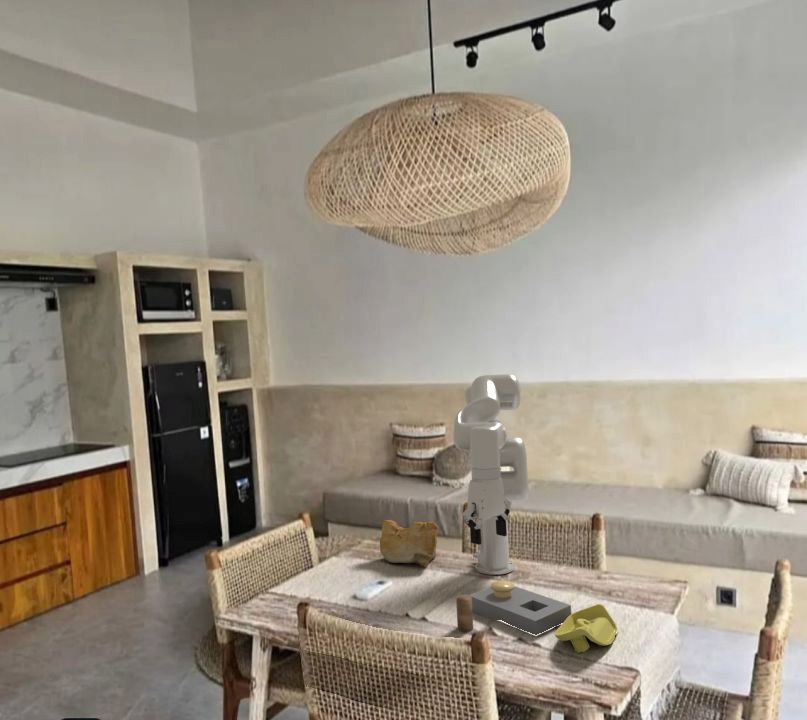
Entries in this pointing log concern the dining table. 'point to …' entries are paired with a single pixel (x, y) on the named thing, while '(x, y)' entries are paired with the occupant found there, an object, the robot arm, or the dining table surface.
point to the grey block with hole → (519, 607)
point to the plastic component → (588, 628)
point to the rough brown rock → (409, 542)
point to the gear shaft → (464, 613)
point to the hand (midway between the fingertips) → (489, 539)
